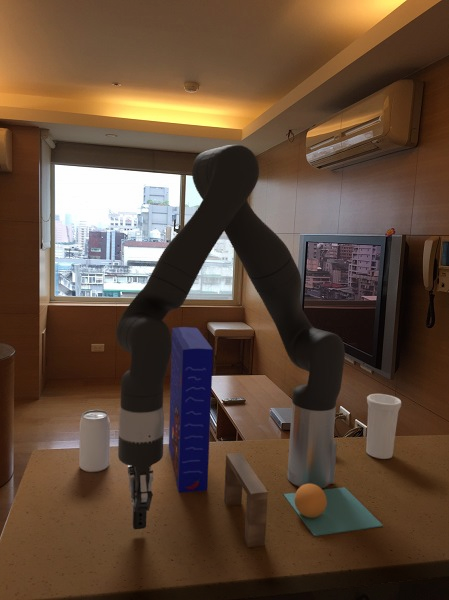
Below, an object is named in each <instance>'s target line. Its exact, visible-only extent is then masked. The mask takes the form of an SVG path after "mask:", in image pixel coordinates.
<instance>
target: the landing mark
mask: <svg viewBox="0 0 449 600" xmlns="http://www.w3.org/2000/svg"><path fill="white" fill-rule="evenodd" d="M322 490H323V491H324V493H325V495H326V499H327V504H326V508H325V510H324V512H323V513H322V514H321V515H320V516H318V517H315V518H309V517H306V516H304V515H302V514H301V513H300V512H299V511H298V510H297V508H296V505H295V494H296V492H291V493H283V496H284V498H285V500H287V502H288V503H289V505H290V506H291V507H292V509H293V510H294V511H295V513H296V514H297V515H298V516H299V518H300V519H301V520H302V522H303V524H304V525H305V526H306V528H307V529H308V530H309V531H310V533H311V534H312V535H313V537H318V536H325V535H332V534H339V533H346V532H353V531H361V530H368V529H374V528H381V527H384V525H383V524H382V523H381V522H380V521H379V520H378V519H377V518H376V517H375V515H373V514H372V513H371V512H370V511H369V510H368V509H367V508H366V507H365V506H364V505H363V504H362V503H361V502H360V501H359V500H358V499H357V498H356V497H355V496H354V495H353V494H352V493H351V492H350V491H349V490H348V489H347V488H346V487H344V486H343V487H336V488H326V489H325V488H323V489H322Z"/></svg>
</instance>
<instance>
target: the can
mask: <svg viewBox="0 0 449 600" xmlns="http://www.w3.org/2000/svg"><path fill="white" fill-rule="evenodd" d="M110 443H111V421H110V417H109V413H108V412H107V411H106V410H103V409H93V410H87V411H85V412H83V413H82V414H81V418H80V421H79V451H78V453H79V454H78V455H79V458H78V459H79V468H80V469H81V470H82V471H84V472H86V473H98V472H102V471H104V470H106V469H107V468H108V467H109V466H110V455H111V454H110V452H111V451H110V449H111V448H110Z"/></svg>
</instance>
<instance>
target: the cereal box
mask: <svg viewBox="0 0 449 600" xmlns="http://www.w3.org/2000/svg"><path fill="white" fill-rule="evenodd" d="M171 330H172V331H171V338H172V350H171V355H170V362H171V365H170V391H169V392H170V393H169V394H170V395H169V397H170V398H169V425H168V426H169V427H168V428H169V429H168V450H169V454H170V458H171V462H172V463H171V464H172V469H173V472H174V478H175V482H176V487H177V492H178V493H190V492H205V491H208V484H209V462H210V461H209V460H210V459H209V457H210V455H209V454H210V437H211V436H210V435H211V434H210V433H211V432H210V431H211V411H212V410H211V407H212V386H213V385H212V384H213V382H212V381H213V361H214V360H213V359H214V358H213V357H214V349H213V347H212V346H211V345H210V343H209V342H208V340H207V339H206V338H205V336H203V334H202V332H201V331H200V329H198V328H197V327H187V326H181V327H180V326H179V327H172V328H171Z"/></svg>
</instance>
